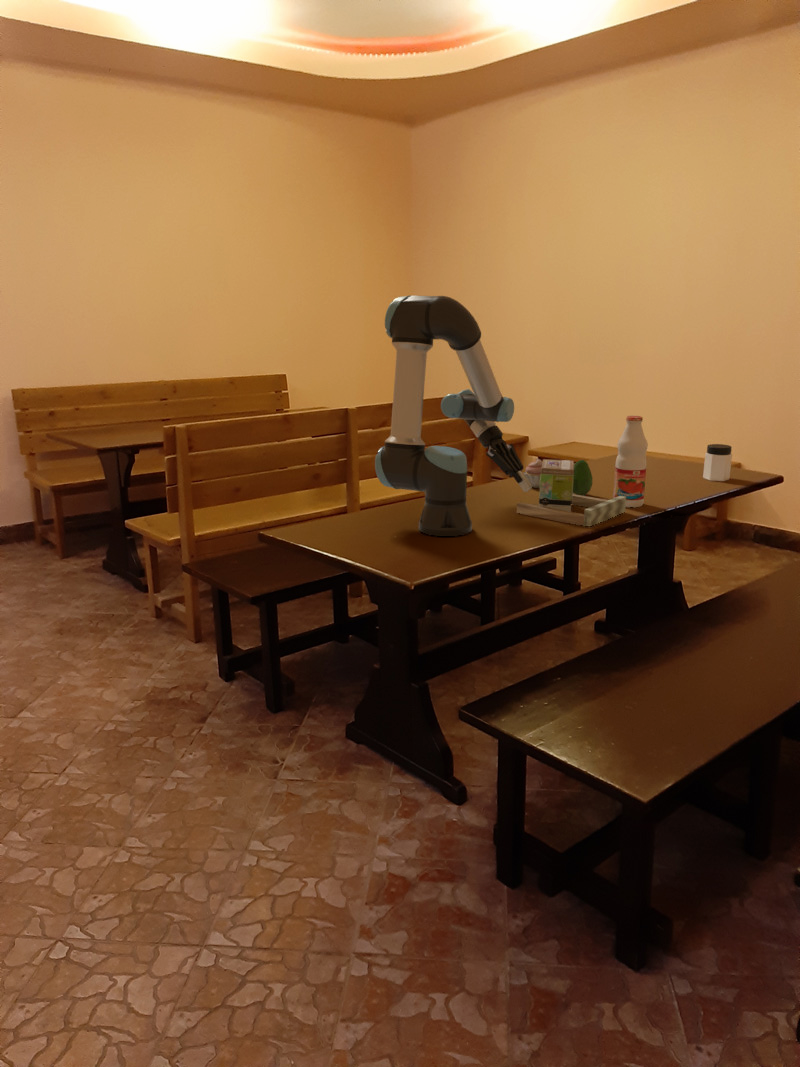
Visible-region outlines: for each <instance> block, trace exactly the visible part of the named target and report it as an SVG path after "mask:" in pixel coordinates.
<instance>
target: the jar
mask: <svg viewBox="0 0 800 1067" xmlns="http://www.w3.org/2000/svg"><path fill="white" fill-rule="evenodd" d="M706 447H707V448H706V452H705V453H704V464H703V475H702V478H703V479H705V480H708V481H711V482H713V481H714V482H725V481H729V480H730V476H731V466H732V461H733V460H732V457H733V453H732V445H728V444H721V443H713V444H711V443H710V444H707V446H706Z"/></svg>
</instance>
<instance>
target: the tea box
mask: <svg viewBox="0 0 800 1067" xmlns="http://www.w3.org/2000/svg"><path fill="white" fill-rule="evenodd" d="M574 464H575V461H574V460H569V459H568V460H567V459H565V460H563V459H542V468H541V476H540V488H539V493H538V496H539V497H538V506H542V507H548V508H553V509H559V510H564V511H569V512H572V505H571V503H572V494H573V477H574Z"/></svg>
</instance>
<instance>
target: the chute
mask: <svg viewBox="0 0 800 1067" xmlns="http://www.w3.org/2000/svg"><path fill="white" fill-rule="evenodd" d="M571 504H573V505H572V506H576V505H578V506H577V507H581V506H583V507H582V508H584V510H583V511H584V512H583V513H578V512H575V511H574V512H573V511H571V512H569V511H564V510H559V509H553V508H548V507H542V506H539V505H536V504H533V503H530V504H529V503H525V502H518V503H516V514H518V513H520V515H524V516H529V517H533V518H534V517H535V518H539V519H545V520H549V521H550V520H551V521H554V522H559V523H566V524H569V523H570V524H571V525H575V524H576V525H575V526H580V525H583V526H582V527H585V526H592V525H594V526H596V525H595V524H597V525H599V524H601V523H600V522H602V523H603V521H604V522H606V521H608V519H609V520H610V518H611V519H613V518H615V516H616V517H618V516H620V515H619V514H621V513H623V514H625V513H626V508H627V507H626V497H625V496H618V497H616V498H610V499H604V498H598V497H592V496H586V495H583V496H581V495H576V494H574V493H572V503H571ZM587 507H588V508H587ZM624 512H625V513H624ZM617 515H618V516H617ZM621 515H622V514H621ZM612 517H613V518H612ZM598 523H599V524H598ZM592 527H593V526H592Z"/></svg>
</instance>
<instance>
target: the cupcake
mask: <svg viewBox="0 0 800 1067" xmlns="http://www.w3.org/2000/svg"><path fill="white" fill-rule="evenodd" d="M542 462H543V460H541V459H540V458H537V457H536V458H535V461H532V462H530V463H529V464H528V465H527V466H526V467H525V471H524V472H523V471H522V473H523V474H524V475H525V477H526V478H527V480H528V481H529V482H530V484H531V485H532V487H534V488H533V489H540V476H541V468H542Z"/></svg>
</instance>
